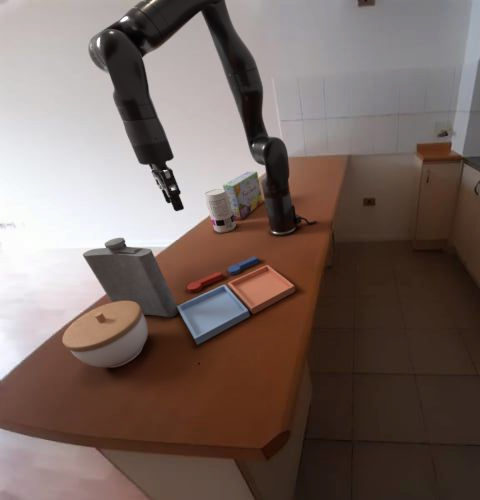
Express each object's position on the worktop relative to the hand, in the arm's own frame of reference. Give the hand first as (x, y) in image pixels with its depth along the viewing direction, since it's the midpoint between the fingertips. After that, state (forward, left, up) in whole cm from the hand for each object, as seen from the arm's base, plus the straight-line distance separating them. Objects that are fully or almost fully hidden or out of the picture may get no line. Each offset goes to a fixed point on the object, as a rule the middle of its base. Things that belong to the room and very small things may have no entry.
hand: (175, 206), depth 72 cm
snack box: (-33, -36, -22) cm, 53 cm away
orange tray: (-9, +21, -21) cm, 31 cm away
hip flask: (+15, +8, -22) cm, 28 cm away
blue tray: (+4, +21, -22) cm, 30 cm away
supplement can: (-18, -25, -22) cm, 38 cm away
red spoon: (+1, +7, -21) cm, 23 cm away
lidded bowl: (+22, +19, -22) cm, 36 cm away
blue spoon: (-11, +7, -21) cm, 25 cm away
